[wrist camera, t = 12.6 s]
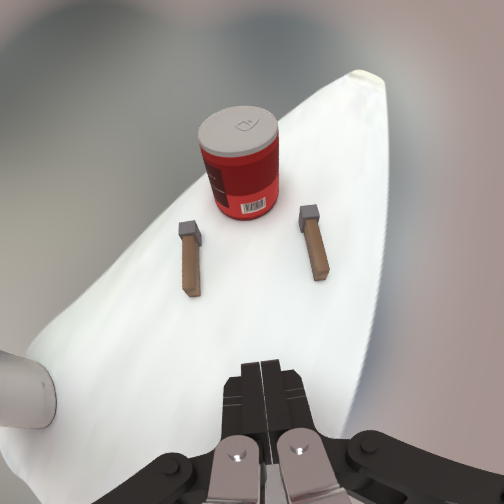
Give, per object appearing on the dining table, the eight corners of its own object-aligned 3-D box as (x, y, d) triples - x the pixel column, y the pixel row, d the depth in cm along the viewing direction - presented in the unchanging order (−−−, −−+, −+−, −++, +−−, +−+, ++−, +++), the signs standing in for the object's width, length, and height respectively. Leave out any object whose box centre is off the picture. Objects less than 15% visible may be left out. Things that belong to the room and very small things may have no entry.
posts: (186, 248, 32) (178, 234, 29) (186, 236, 32) (178, 222, 30) (316, 230, 32) (319, 215, 29) (313, 219, 32) (316, 204, 30)
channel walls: (189, 297, 29) (182, 288, 27) (188, 247, 32) (182, 236, 30) (325, 279, 29) (329, 269, 27) (313, 231, 32) (316, 218, 29)
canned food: (289, 186, 35) (292, 115, 25) (256, 232, 32) (248, 163, 22) (239, 166, 37) (228, 99, 28) (203, 207, 34) (181, 139, 25)
